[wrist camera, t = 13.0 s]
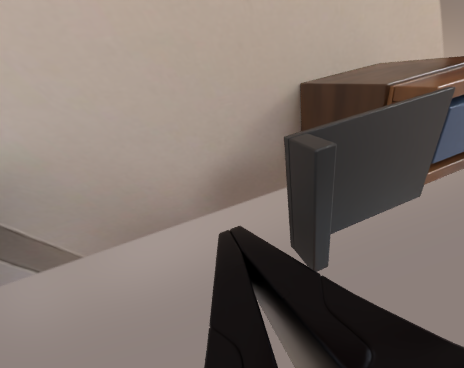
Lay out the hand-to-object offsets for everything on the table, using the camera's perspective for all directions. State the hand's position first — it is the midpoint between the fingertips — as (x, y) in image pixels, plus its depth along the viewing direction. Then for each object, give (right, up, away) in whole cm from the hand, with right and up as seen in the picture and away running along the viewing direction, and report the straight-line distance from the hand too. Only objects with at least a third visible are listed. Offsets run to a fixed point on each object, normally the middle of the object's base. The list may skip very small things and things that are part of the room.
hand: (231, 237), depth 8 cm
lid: (+6, +3, +2) cm, 7 cm away
